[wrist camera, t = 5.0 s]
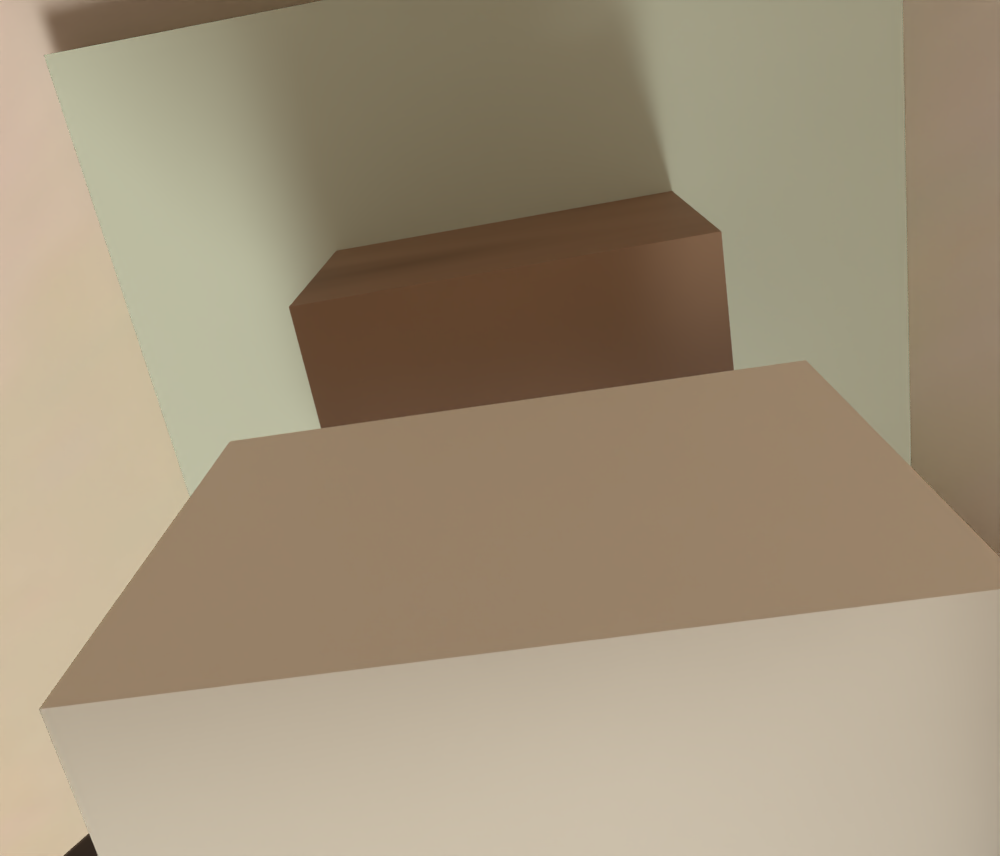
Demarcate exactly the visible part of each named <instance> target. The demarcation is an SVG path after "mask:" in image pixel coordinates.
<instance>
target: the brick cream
mask: <svg viewBox="0 0 1000 856" xmlns="http://www.w3.org/2000/svg"><path fill="white" fill-rule="evenodd" d="M39 710H40V713H41V715H42V718H43V720H44V723H45V725H46V728H47V730H48V733H49V735H50V738H51V740H52V743H53V745H54V748H55V750H56V753H57V755H58V758H59V760H60V763H61V765H62V768H63V770H64V772H65V775H66V777H67V780H68V782H69V785H70V787H71V790H72V792H73V795H74V797H75V800H76V802H77V805H78V807H79V810H80V812H81V815H82V817H83V820H84V822H85V825H86V827H87V830H88V832H89V834H90V837H91V839H92V842H93V844H94V847H95V849H96V852H97V854H98V856H1000V557H999V556H998V555H997V554H996V553H995V552H994V551H993V550H992V549H991V548H990V547H989V546H988V545H987V543H986V542H985V541H984V540H983V539H982V538H981V537H980V536H979V535H978V534H977V533H976V532H975V531H974V530H973V529H972V528H971V527H970V526H969V525H968V524H967V523H966V522H965V521H964V520H963V519H962V518H961V517H960V516H959V515H958V514H957V513H956V512H955V511H954V510H953V509H952V508H951V507H950V506H949V505H948V504H947V503H946V502H945V501H944V500H943V499H942V498H941V497H940V496H939V495H938V494H937V493H936V492H935V491H934V490H933V489H932V488H931V487H930V486H929V485H928V484H927V483H926V481H925V480H924V479H923V478H922V477H921V476H920V475H919V474H918V473H917V472H916V471H915V470H914V469H913V468H912V467H911V466H910V465H909V464H908V463H907V462H906V461H905V460H904V459H903V458H902V457H901V456H900V455H899V454H898V453H897V452H896V451H895V450H894V449H893V448H892V447H891V446H890V445H889V444H888V443H887V442H886V441H885V440H884V439H883V438H882V437H881V436H880V435H879V434H878V433H877V432H876V431H875V430H874V429H873V428H872V427H871V426H870V425H869V424H868V423H867V422H866V421H865V419H864V418H863V417H862V416H861V415H860V414H859V413H858V412H857V411H856V410H855V409H854V408H853V407H852V406H851V405H850V404H849V403H848V402H847V401H846V400H845V399H844V398H843V397H842V396H841V395H840V394H839V393H838V392H837V391H836V390H835V389H834V388H833V387H832V386H831V385H830V384H829V383H828V382H827V381H826V380H825V379H824V378H823V377H822V376H821V375H820V374H819V373H818V372H817V371H816V370H815V369H814V368H813V367H812V366H811V365H810V364H809V363H808V362H807V361H806V360H803V361H796V362H789V363H782V364H775V365H768V366H761V367H754V368H746V369H739V370H732V371H725V372H718V373H711V374H704V375H697V376H690V377H683V378H676V379H668V380H661V381H654V382H647V383H640V384H633V385H626V386H619V387H612V388H605V389H597V390H590V391H583V392H576V393H569V394H562V395H555V396H548V397H541V398H534V399H526V400H519V401H512V402H505V403H498V404H491V405H484V406H477V407H470V408H463V409H455V410H448V411H441V412H434V413H427V414H420V415H413V416H406V417H399V418H392V419H385V420H377V421H370V422H363V423H356V424H349V425H342V426H335V427H328V428H321V429H314V430H306V431H299V432H292V433H285V434H278V435H271V436H264V437H257V438H250V439H243V440H235V441H230V442H229V443H228V445H227V446H226V447H225V449H224V450H223V452H222V453H221V454H220V456H219V457H218V459H217V460H216V461H215V463H214V464H213V466H212V467H211V468H210V470H209V471H208V473H207V474H206V475H205V477H204V478H203V480H202V481H201V482H200V484H199V485H198V487H197V488H196V490H195V491H194V492H193V494H192V495H191V497H190V498H189V499H188V501H187V502H186V504H185V505H184V506H183V508H182V509H181V511H180V512H179V513H178V515H177V516H176V518H175V519H174V520H173V522H172V523H171V525H170V526H169V527H168V529H167V530H166V532H165V533H164V534H163V536H162V537H161V539H160V540H159V541H158V543H157V544H156V546H155V547H154V548H153V550H152V551H151V553H150V554H149V556H148V557H147V558H146V560H145V561H144V563H143V564H142V565H141V567H140V568H139V570H138V571H137V572H136V574H135V575H134V577H133V578H132V579H131V581H130V582H129V584H128V585H127V586H126V588H125V589H124V591H123V592H122V593H121V595H120V596H119V598H118V599H117V600H116V602H115V603H114V605H113V606H112V607H111V609H110V610H109V612H108V613H107V614H106V616H105V617H104V619H103V620H102V622H101V623H100V624H99V626H98V627H97V629H96V630H95V631H94V633H93V634H92V636H91V637H90V638H89V640H88V641H87V643H86V644H85V645H84V647H83V648H82V650H81V651H80V652H79V654H78V655H77V657H76V658H75V659H74V661H73V662H72V664H71V665H70V666H69V668H68V669H67V671H66V672H65V673H64V675H63V676H62V678H61V679H60V680H59V682H58V683H57V685H56V686H55V688H54V689H53V690H52V692H51V693H50V695H49V696H48V697H47V699H46V700H45V702H44V703H43V704H42V706H41V707H40V709H39Z"/></svg>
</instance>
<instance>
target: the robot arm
mask: <svg viewBox="0 0 1000 856" xmlns="http://www.w3.org/2000/svg"><path fill="white" fill-rule="evenodd" d="M64 856H98V854H97V852H96V849H95V847H94V844H93V842H92V839H91V837H90V834H88V835H86V836H85V837H84V838H83V839H82V840H81V841H80V842H78V843H77V844H76V845H75V846H74V847H73V848H72V849H71V850H69V851H68V852H67V853H66V854H65V855H64Z"/></svg>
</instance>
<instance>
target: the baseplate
mask: <svg viewBox="0 0 1000 856" xmlns="http://www.w3.org/2000/svg"><path fill="white" fill-rule="evenodd" d="M44 57H45V60H46V63H47V66H48V69H49V72H50V75H51V78H52V81H53V84H54V87H55V90H56V93H57V96H58V99H59V102H60V105H61V108H62V111H63V114H64V117H65V121H66V124H67V127H68V130H69V133H70V136H71V139H72V142H73V145H74V148H75V151H76V154H77V157H78V160H79V163H80V166H81V169H82V172H83V175H84V178H85V181H86V184H87V187H88V190H89V193H90V196H91V199H92V202H93V205H94V208H95V211H96V214H97V217H98V220H99V223H100V226H101V229H102V233H103V236H104V239H105V242H106V245H107V248H108V251H109V254H110V257H111V260H112V263H113V266H114V269H115V272H116V275H117V278H118V281H119V284H120V287H121V290H122V293H123V296H124V299H125V302H126V305H127V308H128V311H129V314H130V317H131V320H132V323H133V326H134V329H135V332H136V335H137V338H138V341H139V345H140V348H141V351H142V354H143V357H144V360H145V363H146V366H147V369H148V372H149V375H150V378H151V381H152V384H153V387H154V390H155V393H156V396H157V399H158V402H159V405H160V408H161V411H162V414H163V417H164V420H165V423H166V426H167V429H168V432H169V435H170V438H171V441H172V444H173V447H174V450H175V453H176V457H177V460H178V463H179V466H180V469H181V472H182V475H183V478H184V481H185V484H186V487H187V490H188V493H189V496H190V497H191V495H192V494H193V492H194V491H195V490H196V488H197V487H198V485H199V484H200V482H201V481H202V480H203V478H204V477H205V475H206V474H207V473H208V471H209V470H210V468H211V467H212V466H213V464H214V463H215V461H216V460H217V459H218V457H219V456H220V454H221V453H222V452H223V450H224V449H225V447H226V446H227V445H228V443H229V442H230V441H235V440H243V439H250V438H257V437H264V436H271V435H278V434H285V433H292V432H299V431H306V430H314V429H321V427H320V423H319V419H318V415H317V411H316V408H315V404H314V400H313V396H312V393H311V389H310V385H309V381H308V378H307V374H306V370H305V366H304V363H303V359H302V355H301V351H300V348H299V344H298V340H297V336H296V332H295V329H294V325H293V321H292V317H291V314H290V310H289V306H290V305H291V304H292V303H293V301H294V300H295V299H296V298H297V297H298V295H299V294H300V293H301V292H302V291H303V290H304V288H305V287H306V286H307V285H308V284H309V282H310V281H311V280H312V279H313V278H314V276H315V275H316V274H317V273H318V272H319V271H320V269H321V268H322V267H323V266H324V265H325V263H326V262H327V261H328V260H329V259H330V258H331V256H332V255H333V254H334V253H335V252H336V251H338V250H343V249H349V248H355V247H360V246H366V245H371V244H377V243H383V242H388V241H394V240H399V239H405V238H411V237H416V236H422V235H427V234H433V233H439V232H444V231H450V230H456V229H461V228H467V227H472V226H478V225H484V224H489V223H495V222H500V221H506V220H512V219H517V218H523V217H528V216H534V215H540V214H545V213H551V212H556V211H562V210H568V209H573V208H579V207H585V206H590V205H596V204H601V203H607V202H613V201H618V200H624V199H629V198H635V197H641V196H646V195H652V194H657V193H663V192H669V191H673V192H674V193H675V194H677V195H678V196H679V197H680V198H681V199H683V200H684V201H685V202H686V203H687V204H689V205H690V206H691V207H692V208H694V209H695V210H696V211H697V212H698V213H700V214H701V215H702V216H703V217H704V218H706V219H707V220H708V221H709V222H711V223H712V224H713V225H714V226H715V227H717V228H718V229H719V230H720V231H721V233H722V244H723V255H724V266H725V277H726V288H727V299H728V310H729V321H730V332H731V344H732V355H733V366H734V370H739V369H746V368H754V367H761V366H768V365H775V364H782V363H789V362H796V361H803V360H806V361H807V362H808V363H809V364H810V365H811V366H812V367H813V368H814V369H815V370H816V371H817V372H818V373H819V374H820V375H821V376H822V377H823V378H824V379H825V380H826V381H827V382H828V383H829V384H830V385H831V386H832V387H833V388H834V389H835V390H836V391H837V392H838V393H839V394H840V395H841V396H842V397H843V398H844V399H845V400H846V401H847V402H848V403H849V404H850V405H851V406H852V407H853V408H854V409H855V410H856V411H857V412H858V413H859V414H860V415H861V416H862V417H863V418H864V419H865V421H866V422H867V423H868V424H869V425H870V426H871V427H872V428H873V429H874V430H875V431H876V432H877V433H878V434H879V435H880V436H881V437H882V438H883V439H884V440H885V441H886V442H887V443H888V444H889V445H890V446H891V447H892V448H893V449H894V450H895V451H896V452H897V453H898V454H899V455H900V456H901V457H902V458H903V459H904V460H905V461H906V462H907V463H908V464H909V465H910V466H911V427H910V372H909V317H908V262H907V206H906V151H905V96H904V41H903V0H321V1H316V2H311V3H306V4H301V5H296V6H291V7H286V8H281V9H275V10H270V11H265V12H260V13H255V14H250V15H245V16H240V17H235V18H230V19H225V20H220V21H215V22H209V23H204V24H199V25H194V26H189V27H184V28H179V29H174V30H169V31H164V32H159V33H154V34H149V35H143V36H138V37H133V38H128V39H123V40H118V41H113V42H108V43H103V44H98V45H93V46H88V47H83V48H77V49H72V50H67V51H62V52H57V53H52V54H47V55H44Z"/></svg>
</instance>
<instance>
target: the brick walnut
mask: <svg viewBox="0 0 1000 856" xmlns="http://www.w3.org/2000/svg"><path fill="white" fill-rule="evenodd" d="M289 310H290V314H291V317H292V321H293V325H294V329H295V332H296V336H297V340H298V344H299V348H300V351H301V355H302V359H303V363H304V366H305V370H306V374H307V378H308V381H309V385H310V389H311V393H312V396H313V400H314V404H315V408H316V411H317V415H318V419H319V423H320V427H321V428H328V427H335V426H342V425H349V424H356V423H363V422H370V421H377V420H385V419H392V418H399V417H406V416H413V415H420V414H427V413H434V412H441V411H448V410H455V409H463V408H470V407H477V406H484V405H491V404H498V403H505V402H512V401H519V400H526V399H534V398H541V397H548V396H555V395H562V394H569V393H576V392H583V391H590V390H597V389H605V388H612V387H619V386H626V385H633V384H640V383H647V382H654V381H661V380H668V379H676V378H683V377H690V376H697V375H704V374H711V373H718V372H725V371H732V370H734V366H733V355H732V344H731V332H730V321H729V310H728V299H727V288H726V277H725V266H724V255H723V244H722V233H721V231H720V230H719V229H718V228H717V227H715V226H714V225H713V224H712V223H711V222H709V221H708V220H707V219H706V218H704V217H703V216H702V215H701V214H700V213H698V212H697V211H696V210H695V209H694V208H692V207H691V206H690V205H689V204H687V203H686V202H685V201H684V200H683V199H681V198H680V197H679V196H678V195H677V194H675V193H674V192H673V191H669V192H663V193H657V194H652V195H646V196H641V197H635V198H629V199H624V200H618V201H613V202H607V203H601V204H596V205H590V206H585V207H579V208H573V209H568V210H562V211H556V212H551V213H545V214H540V215H534V216H528V217H523V218H517V219H512V220H506V221H500V222H495V223H489V224H484V225H478V226H472V227H467V228H461V229H456V230H450V231H444V232H439V233H433V234H427V235H422V236H416V237H411V238H405V239H399V240H394V241H388V242H383V243H377V244H371V245H366V246H360V247H355V248H349V249H343V250H338V251H336V252H335V253H334V254H333V255H332V256H331V258H330V259H329V260H328V261H327V262H326V263H325V265H324V266H323V267H322V268H321V269H320V271H319V272H318V273H317V274H316V275H315V276H314V278H313V279H312V280H311V281H310V282H309V284H308V285H307V286H306V287H305V288H304V290H303V291H302V292H301V293H300V294H299V295H298V297H297V298H296V299H295V300H294V301H293V303H292V304H291V305H290V306H289Z"/></svg>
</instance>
